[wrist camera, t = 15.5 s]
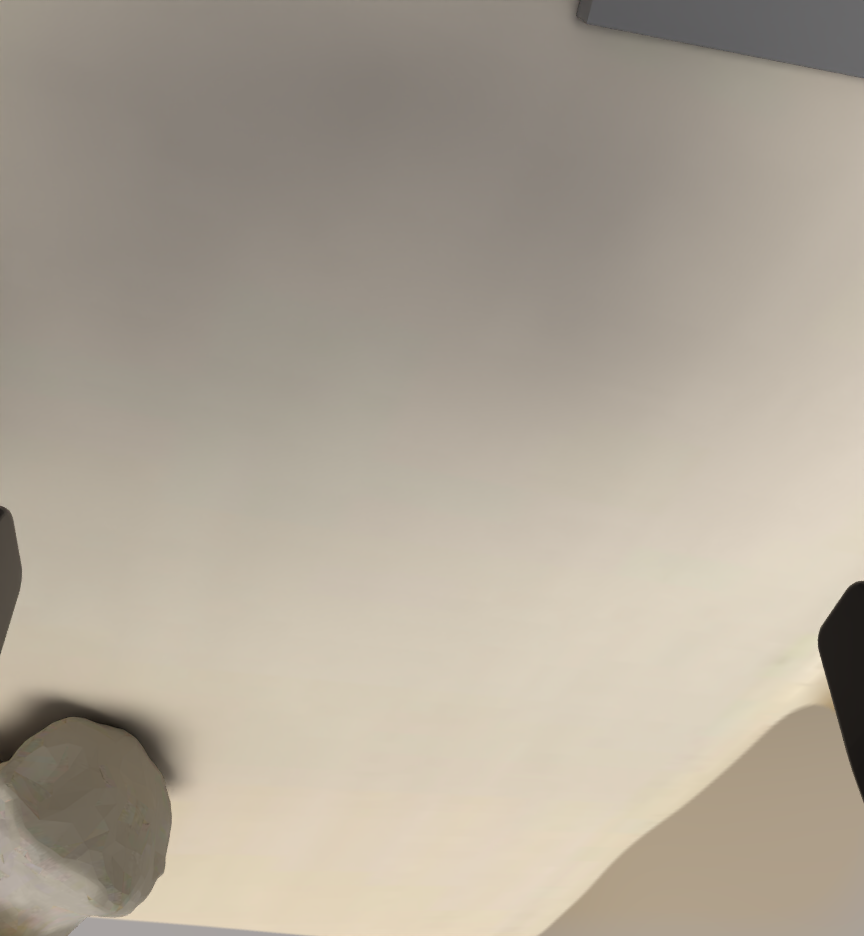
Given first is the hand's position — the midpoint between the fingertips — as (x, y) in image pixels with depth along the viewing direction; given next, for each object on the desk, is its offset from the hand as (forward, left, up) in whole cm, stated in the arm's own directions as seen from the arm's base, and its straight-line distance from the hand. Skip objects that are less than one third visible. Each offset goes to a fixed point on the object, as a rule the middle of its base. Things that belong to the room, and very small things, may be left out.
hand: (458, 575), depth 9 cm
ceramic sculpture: (-11, -26, -13) cm, 31 cm away
